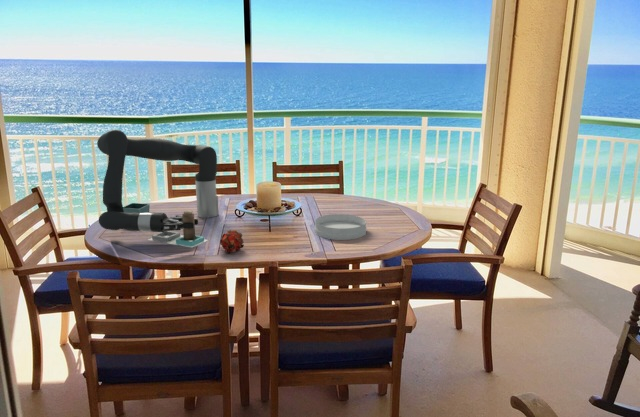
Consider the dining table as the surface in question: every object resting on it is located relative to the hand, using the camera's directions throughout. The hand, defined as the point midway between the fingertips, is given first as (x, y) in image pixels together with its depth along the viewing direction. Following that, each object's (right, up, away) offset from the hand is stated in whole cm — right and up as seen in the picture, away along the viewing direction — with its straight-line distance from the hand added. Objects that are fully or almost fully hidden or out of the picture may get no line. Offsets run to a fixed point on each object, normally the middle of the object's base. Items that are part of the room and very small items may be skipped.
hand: (195, 223), depth 189 cm
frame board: (-8, -8, +5) cm, 12 cm away
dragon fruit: (+15, -11, -4) cm, 19 cm away
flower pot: (-33, -2, +28) cm, 43 cm away
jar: (-3, -6, +2) cm, 7 cm away
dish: (+57, -5, +21) cm, 61 cm away
